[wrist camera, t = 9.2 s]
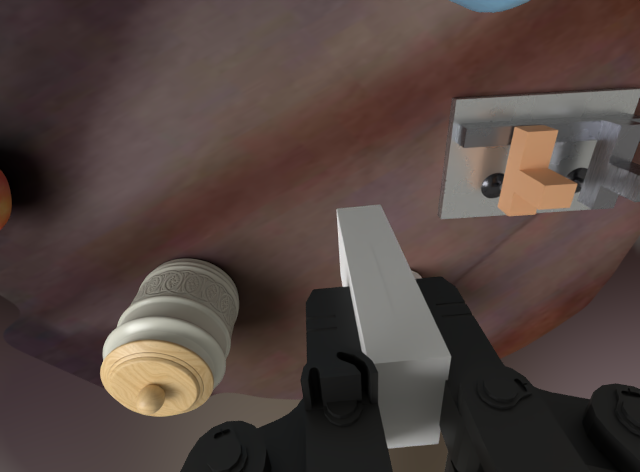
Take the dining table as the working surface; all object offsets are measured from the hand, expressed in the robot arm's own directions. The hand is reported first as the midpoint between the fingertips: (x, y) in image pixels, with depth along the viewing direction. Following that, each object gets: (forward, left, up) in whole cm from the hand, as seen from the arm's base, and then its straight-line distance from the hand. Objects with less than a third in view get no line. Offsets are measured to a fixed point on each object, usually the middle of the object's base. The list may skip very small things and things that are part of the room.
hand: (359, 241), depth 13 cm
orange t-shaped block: (+7, +21, -28) cm, 35 cm away
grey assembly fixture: (+7, +24, -29) cm, 39 cm away
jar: (+24, -19, -30) cm, 42 cm away
